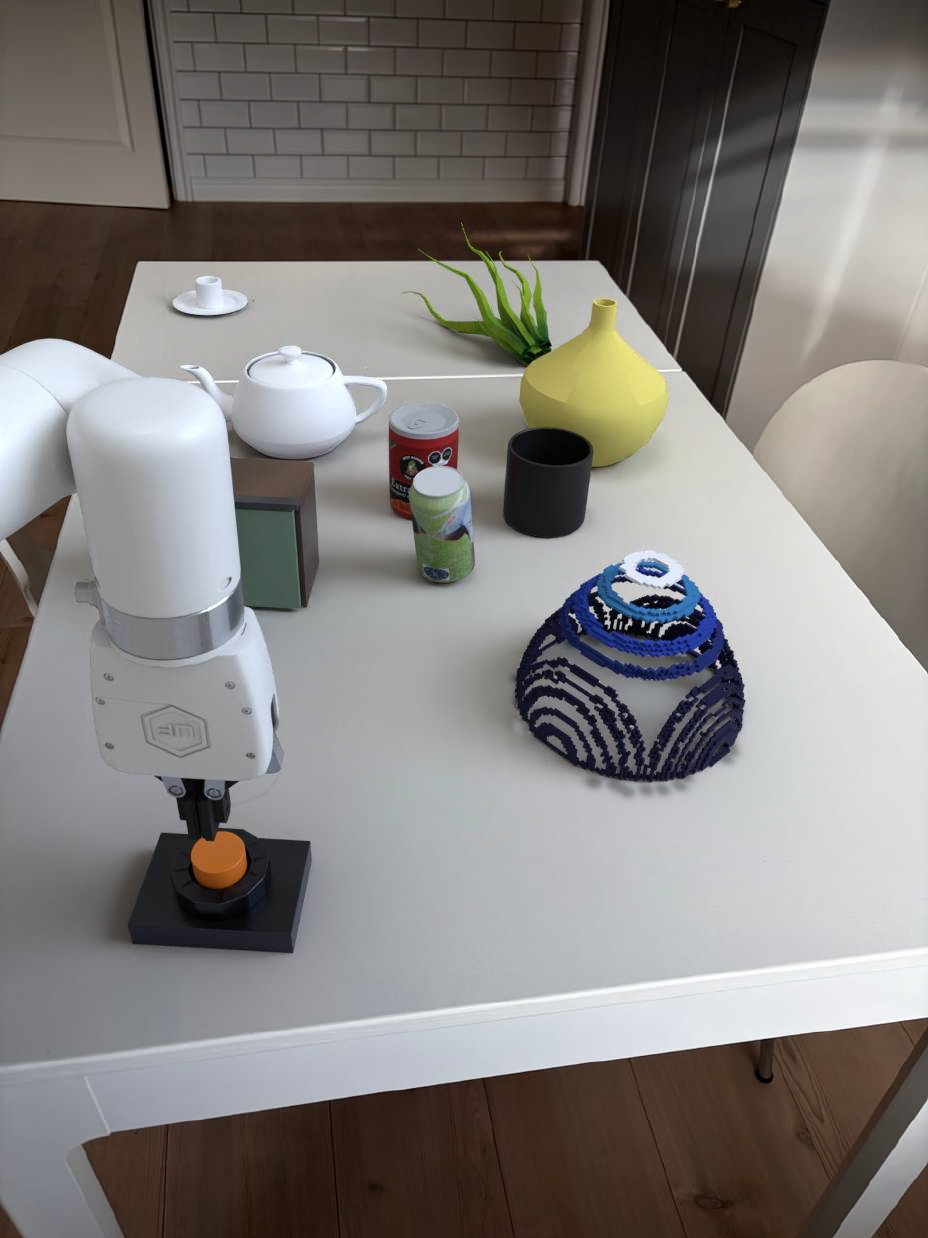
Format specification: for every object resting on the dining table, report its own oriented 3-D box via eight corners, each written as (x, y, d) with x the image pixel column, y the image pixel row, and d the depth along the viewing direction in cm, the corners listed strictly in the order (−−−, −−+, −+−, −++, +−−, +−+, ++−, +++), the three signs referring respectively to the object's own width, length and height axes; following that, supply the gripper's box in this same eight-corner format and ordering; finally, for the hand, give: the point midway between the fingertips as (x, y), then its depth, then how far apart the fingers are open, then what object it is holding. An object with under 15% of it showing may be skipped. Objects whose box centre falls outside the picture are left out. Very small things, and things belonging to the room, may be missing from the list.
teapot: (389, 414, 133) (388, 326, 126) (386, 471, 121) (385, 377, 113) (200, 411, 132) (188, 321, 124) (178, 468, 119) (164, 372, 112)
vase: (669, 486, 121) (698, 334, 109) (519, 481, 120) (532, 328, 108) (646, 419, 135) (669, 279, 124) (512, 414, 135) (523, 273, 123)
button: (187, 888, 67) (184, 871, 66) (201, 846, 70) (198, 829, 69) (241, 891, 67) (238, 874, 66) (252, 849, 70) (249, 832, 69)
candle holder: (174, 293, 166) (171, 267, 163) (247, 292, 168) (245, 266, 165) (171, 320, 156) (167, 293, 154) (248, 318, 158) (246, 291, 156)
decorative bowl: (784, 705, 90) (826, 574, 81) (650, 819, 78) (682, 682, 69) (612, 605, 101) (632, 481, 92) (472, 692, 89) (480, 560, 80)
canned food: (379, 514, 113) (378, 426, 106) (403, 482, 119) (403, 397, 112) (443, 527, 111) (446, 439, 104) (464, 493, 117) (468, 408, 111)
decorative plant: (505, 300, 170) (511, 211, 161) (553, 370, 147) (564, 270, 138) (401, 303, 166) (402, 212, 158) (434, 375, 143) (437, 273, 135)
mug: (579, 486, 120) (588, 418, 114) (587, 540, 110) (597, 468, 105) (501, 483, 120) (506, 414, 114) (503, 536, 110) (508, 464, 105)
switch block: (132, 944, 67) (122, 908, 65) (164, 851, 74) (157, 815, 71) (293, 954, 67) (289, 918, 65) (312, 860, 74) (309, 824, 71)
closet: (142, 606, 97) (121, 494, 90) (168, 553, 105) (150, 446, 97) (304, 615, 97) (296, 504, 90) (319, 562, 105) (313, 455, 97)
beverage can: (484, 567, 105) (491, 467, 98) (448, 601, 100) (452, 499, 93) (434, 549, 108) (437, 450, 100) (397, 581, 103) (396, 479, 95)
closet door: (210, 638, 93) (195, 539, 86) (224, 601, 98) (211, 504, 91) (290, 642, 93) (282, 543, 86) (301, 605, 98) (294, 508, 91)
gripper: (11, 637, 52) (75, 861, 63) (297, 657, 52) (310, 878, 63) (63, 556, 58) (113, 775, 69) (319, 574, 58) (327, 789, 69)
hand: (207, 823), depth 66 cm, fingers closed
